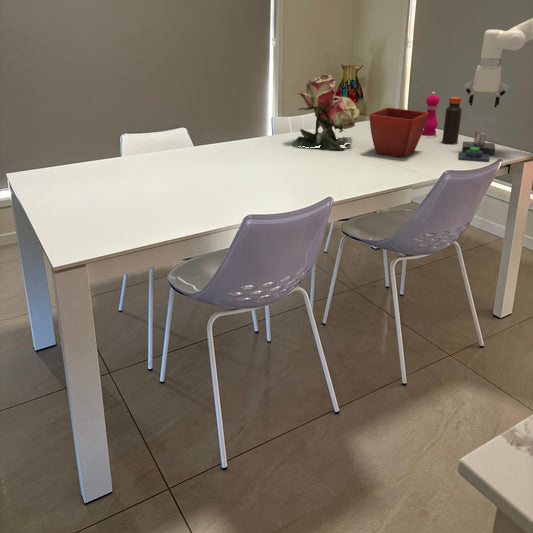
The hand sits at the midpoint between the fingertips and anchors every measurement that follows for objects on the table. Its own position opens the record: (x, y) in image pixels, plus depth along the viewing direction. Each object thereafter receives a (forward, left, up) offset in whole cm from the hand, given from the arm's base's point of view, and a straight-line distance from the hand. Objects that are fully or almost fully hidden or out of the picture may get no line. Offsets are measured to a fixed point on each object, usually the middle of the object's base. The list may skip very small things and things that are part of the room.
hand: (483, 106), depth 244 cm
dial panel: (-1, -2, -20) cm, 20 cm away
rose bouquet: (+65, 0, -20) cm, 68 cm away
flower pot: (+33, +9, -20) cm, 40 cm away
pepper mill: (+21, -31, -20) cm, 43 cm away
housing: (+1, +10, -20) cm, 22 cm away
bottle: (+11, -16, -20) cm, 28 cm away
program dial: (-1, -2, -17) cm, 17 cm away
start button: (+1, +10, -17) cm, 20 cm away
